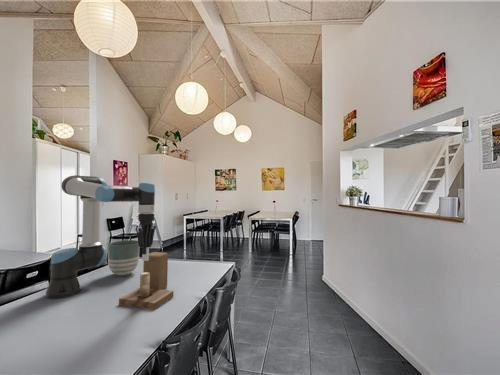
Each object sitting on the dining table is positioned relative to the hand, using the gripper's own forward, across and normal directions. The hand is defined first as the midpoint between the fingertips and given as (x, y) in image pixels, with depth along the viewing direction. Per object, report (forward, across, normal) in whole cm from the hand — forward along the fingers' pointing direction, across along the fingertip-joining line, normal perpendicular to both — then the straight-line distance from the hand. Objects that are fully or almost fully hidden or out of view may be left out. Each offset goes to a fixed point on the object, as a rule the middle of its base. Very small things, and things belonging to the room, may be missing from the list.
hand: (145, 260), depth 127 cm
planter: (+21, +35, +44) cm, 60 cm away
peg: (+21, 0, 0) cm, 21 cm away
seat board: (+21, +2, 0) cm, 21 cm away
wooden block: (+21, +17, +6) cm, 28 cm away
